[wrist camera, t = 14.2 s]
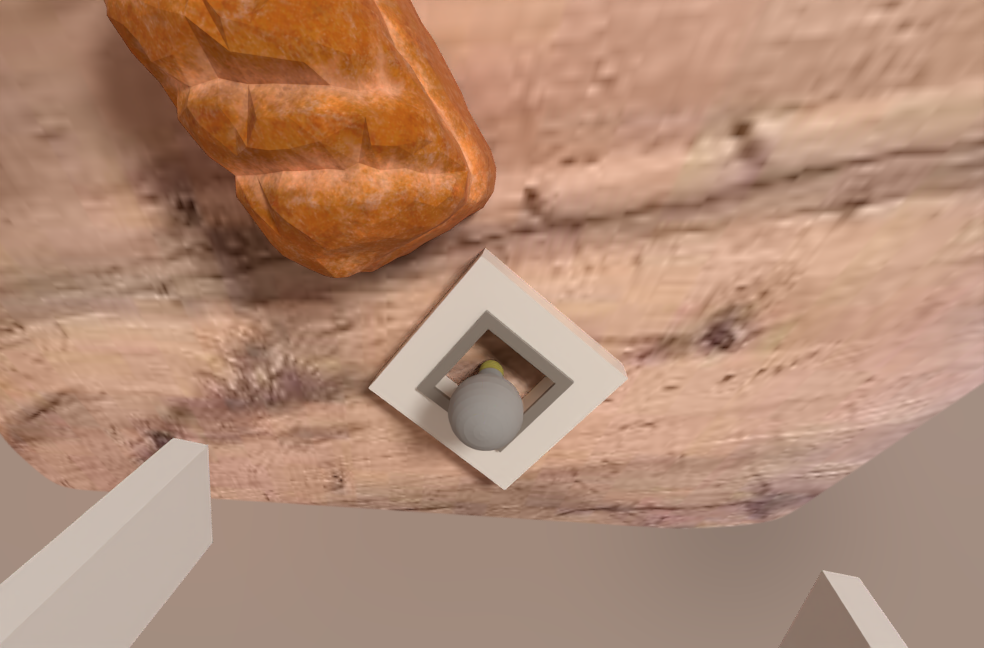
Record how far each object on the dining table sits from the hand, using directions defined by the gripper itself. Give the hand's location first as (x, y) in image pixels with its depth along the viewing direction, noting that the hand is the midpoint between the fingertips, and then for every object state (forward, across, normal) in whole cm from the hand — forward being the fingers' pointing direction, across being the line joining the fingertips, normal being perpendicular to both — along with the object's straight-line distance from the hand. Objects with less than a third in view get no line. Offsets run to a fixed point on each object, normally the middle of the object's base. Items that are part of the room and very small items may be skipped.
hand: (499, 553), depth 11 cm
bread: (+31, -16, +10) cm, 36 cm away
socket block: (+31, -1, -11) cm, 33 cm away
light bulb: (+31, -1, -11) cm, 33 cm away
